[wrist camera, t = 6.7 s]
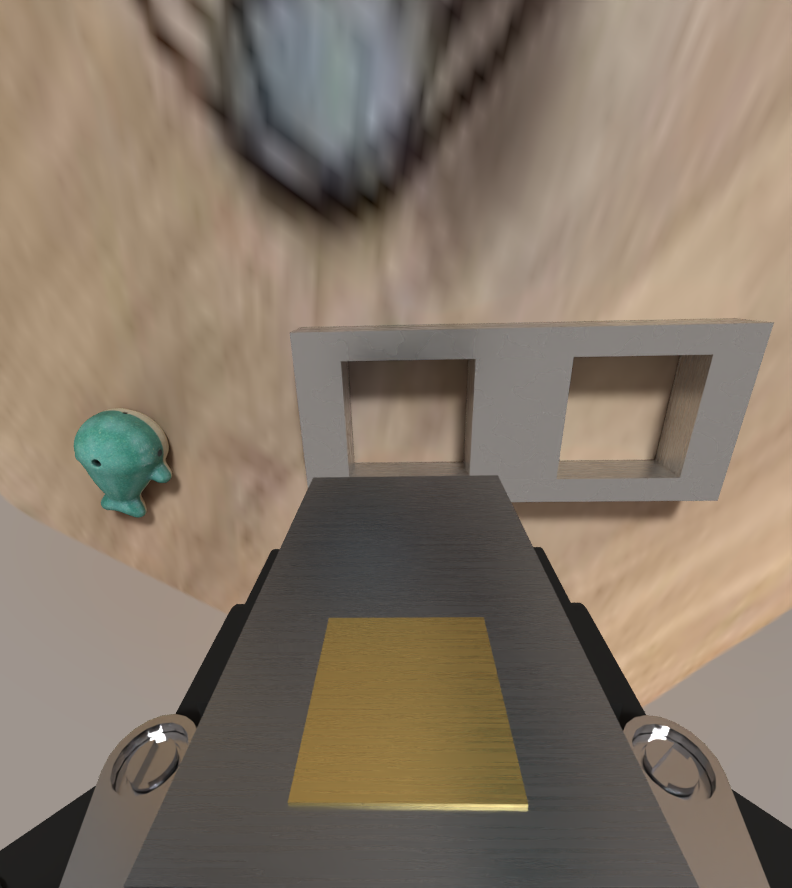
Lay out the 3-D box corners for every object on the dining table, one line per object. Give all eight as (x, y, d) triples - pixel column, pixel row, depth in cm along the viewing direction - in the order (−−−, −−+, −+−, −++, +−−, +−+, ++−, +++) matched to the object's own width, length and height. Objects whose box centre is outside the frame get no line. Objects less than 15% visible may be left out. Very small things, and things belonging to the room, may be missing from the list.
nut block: (498, 473, 11) (703, 890, 3) (486, 619, 13) (602, 1091, 5) (312, 475, 11) (121, 884, 4) (328, 619, 13) (226, 1081, 5)
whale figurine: (188, 419, 25) (152, 442, 22) (176, 514, 28) (142, 548, 24) (93, 391, 25) (41, 409, 21) (90, 491, 27) (43, 522, 24)
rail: (735, 318, 22) (773, 322, 20) (689, 480, 26) (717, 500, 24) (301, 327, 23) (289, 332, 21) (318, 484, 27) (309, 503, 24)
